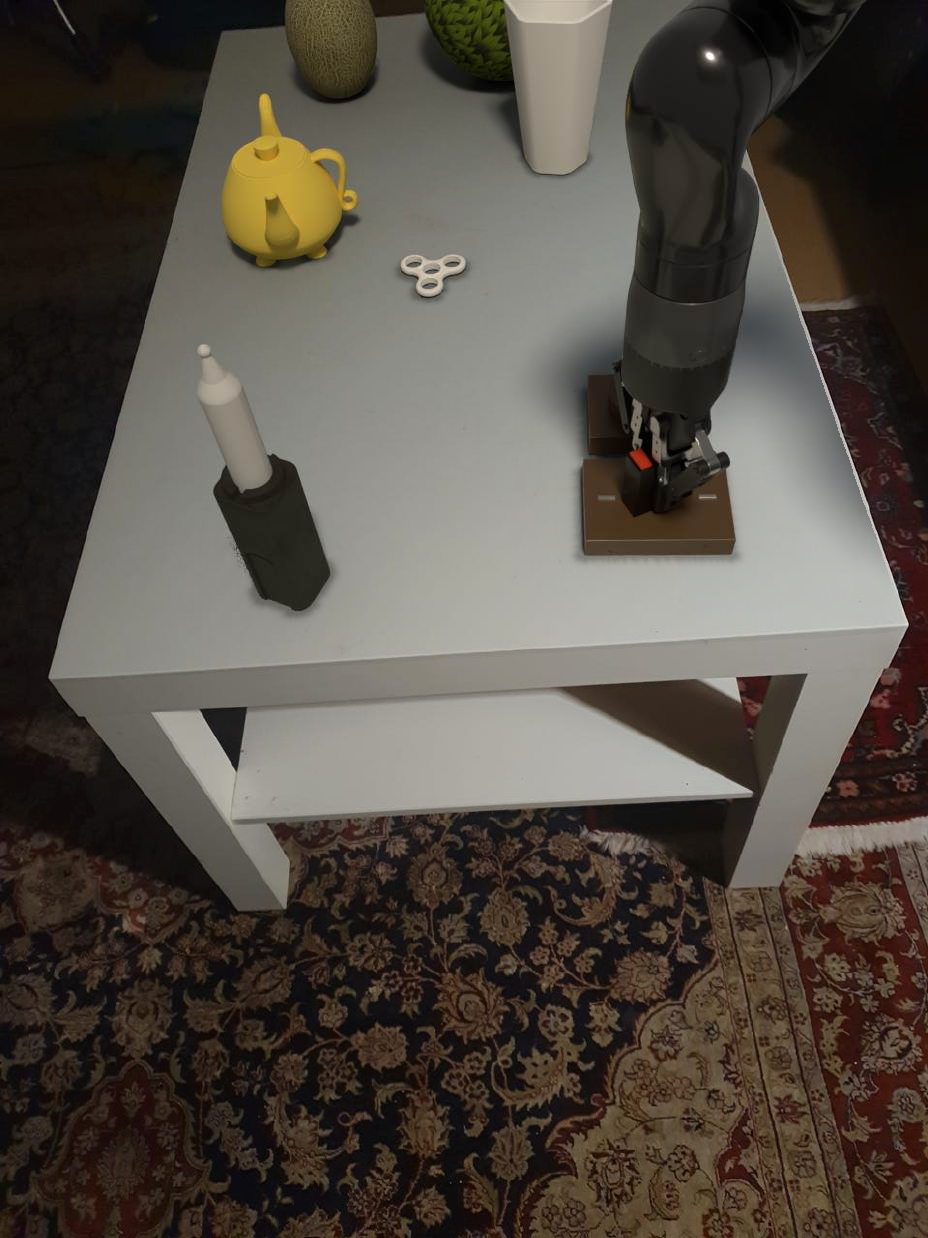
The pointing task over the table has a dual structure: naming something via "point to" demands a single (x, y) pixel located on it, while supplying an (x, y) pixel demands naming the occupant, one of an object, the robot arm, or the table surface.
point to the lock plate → (653, 517)
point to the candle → (261, 496)
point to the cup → (557, 76)
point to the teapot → (282, 195)
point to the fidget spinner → (432, 278)
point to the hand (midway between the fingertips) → (656, 493)
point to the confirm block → (605, 418)
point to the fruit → (332, 43)
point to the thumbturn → (641, 481)
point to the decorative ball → (473, 35)
